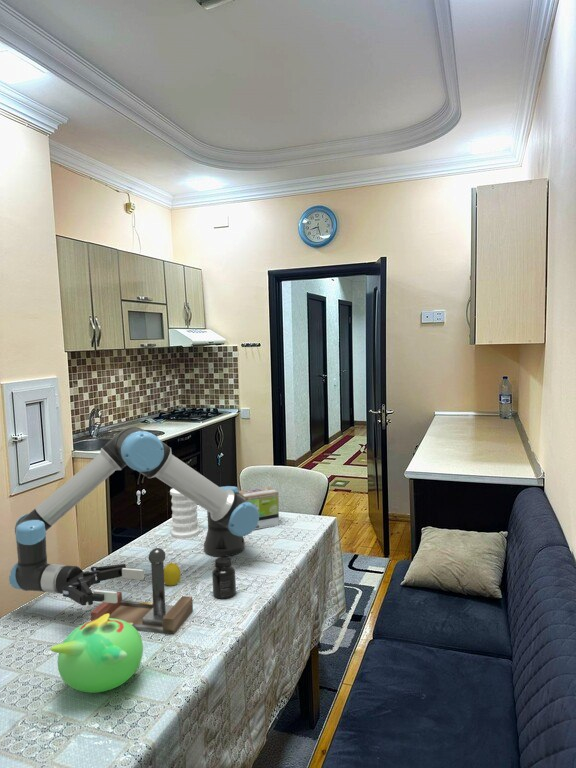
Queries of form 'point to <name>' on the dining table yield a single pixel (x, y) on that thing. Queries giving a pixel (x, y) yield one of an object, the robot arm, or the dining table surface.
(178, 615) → the press base
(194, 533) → the decorative container
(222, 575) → the supplement bottle
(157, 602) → the press handle
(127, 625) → the toy bird
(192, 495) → the robot arm
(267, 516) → the tea box
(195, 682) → the dining table surface
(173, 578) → the lemon
